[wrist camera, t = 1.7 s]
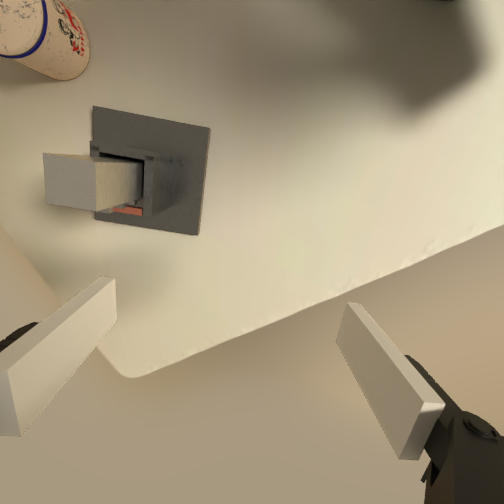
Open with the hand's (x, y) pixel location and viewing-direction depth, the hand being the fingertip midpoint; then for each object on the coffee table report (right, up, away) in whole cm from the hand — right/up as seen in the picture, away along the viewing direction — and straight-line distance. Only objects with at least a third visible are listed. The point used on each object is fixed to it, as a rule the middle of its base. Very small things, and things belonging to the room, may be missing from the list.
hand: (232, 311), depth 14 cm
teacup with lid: (-25, +32, +19) cm, 45 cm away
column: (-14, +15, +23) cm, 31 cm away
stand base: (-14, +15, +25) cm, 32 cm away
